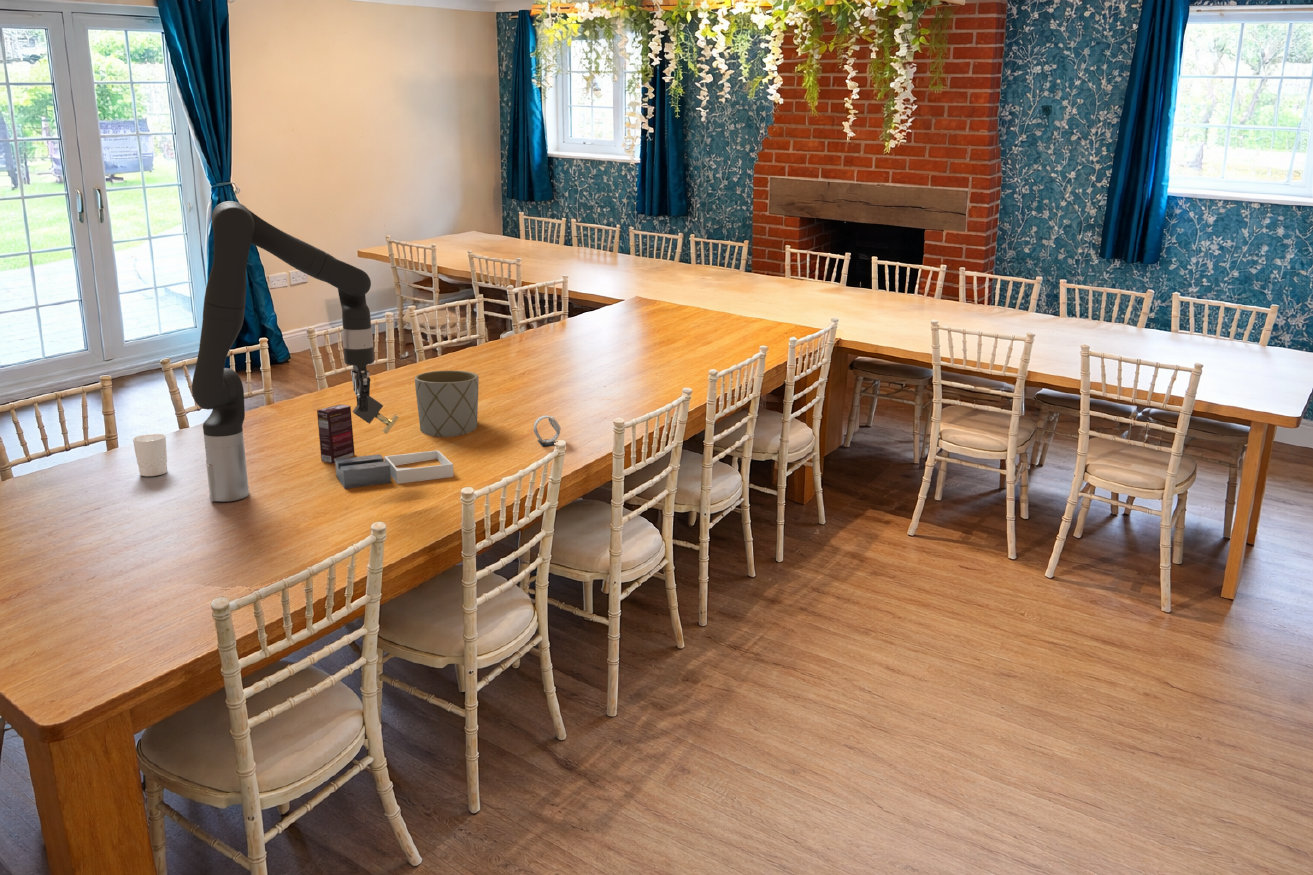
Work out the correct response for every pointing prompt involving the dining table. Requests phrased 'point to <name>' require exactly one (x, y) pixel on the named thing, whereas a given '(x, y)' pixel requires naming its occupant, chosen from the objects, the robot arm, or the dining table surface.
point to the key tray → (422, 472)
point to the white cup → (151, 454)
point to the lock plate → (362, 471)
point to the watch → (554, 424)
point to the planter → (447, 402)
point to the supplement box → (335, 433)
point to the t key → (375, 414)
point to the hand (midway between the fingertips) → (362, 409)
